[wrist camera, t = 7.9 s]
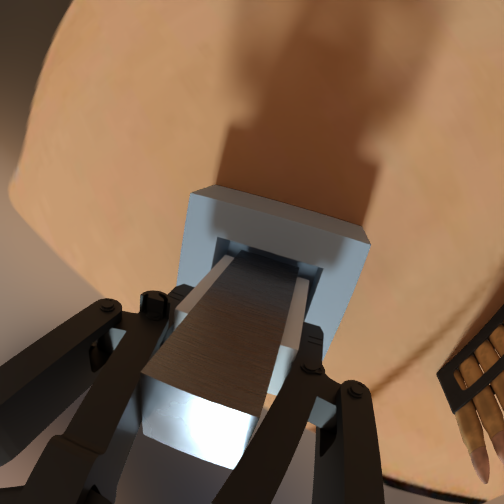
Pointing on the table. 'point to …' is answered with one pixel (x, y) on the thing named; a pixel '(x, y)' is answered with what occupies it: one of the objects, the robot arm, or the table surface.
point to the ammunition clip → (478, 392)
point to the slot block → (276, 247)
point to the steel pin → (220, 362)
